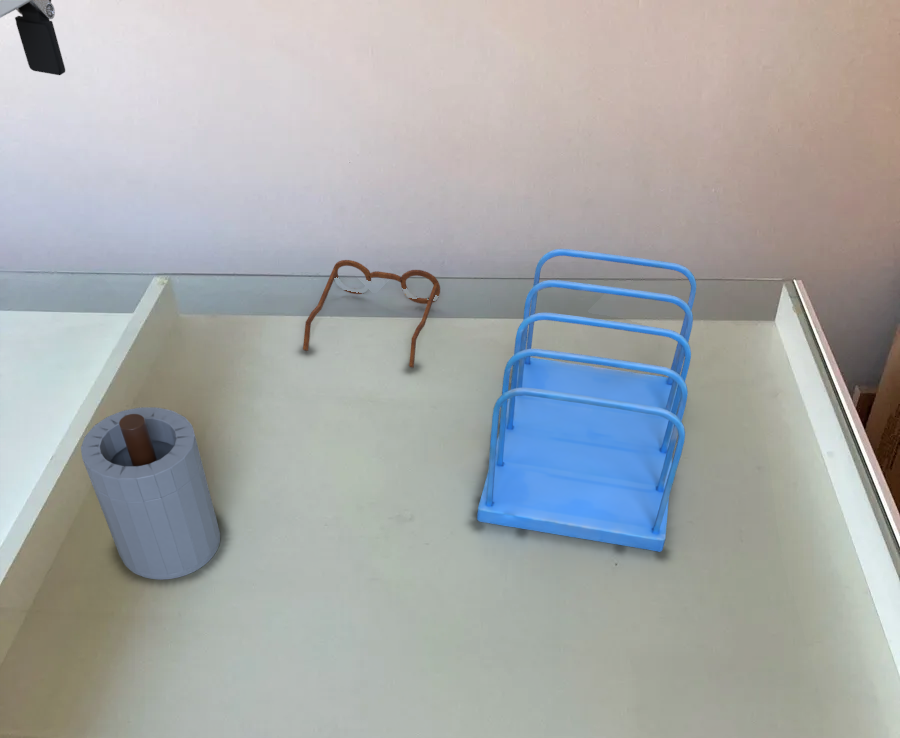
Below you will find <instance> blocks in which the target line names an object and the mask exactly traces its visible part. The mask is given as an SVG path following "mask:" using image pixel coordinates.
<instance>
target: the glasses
mask: <svg viewBox="0 0 900 738" xmlns="http://www.w3.org/2000/svg"><path fill="white" fill-rule="evenodd" d="M342 267H352V268H356V269H358V270H359V271H360V272H361V273H363V275H364V277H365V281H366V280H368V281H371V282H372V278H379V279H384V280H385V279H386V280H391V281H396V282H399V283H400V287H401V289H402V288H403V289H406V288H407V289H408V285H407V280H408V279H409V278H411V277H416V276H417V277H423V278H425V279H427V280H429V282H431V283H432V285H433V286H432V290H431V292H430V294H429V297H425V298H424V297H419V298H417V299H412V298H408V300H409V301H411V302H414V303H416V304H421V305H426V306H425V308H424V312H423V315H422V317H421V321H420V322H419V324H417V326H416V328H415V330H414V332H413V334H412V336H411V342H410V353H409V363H408V366H409V368H410V369H412V368H413V369H414V367H415V358H416V347H417V340H418V337H419V336H420V333H421V332H422V330H423V329H424V327H425V325H426V322H427V320H428V316H429V314H430V311H431V308H432V305H433V303H435V302H436V301H433V299H434V297H435V295H437V296H439V297H440V293H441V285H440V281H438V279H437V277H436V276H435V275H433V274H432V273H430V272H428V271H426V270H421V269H411V270H408V271H405V272H404V273H403V274H401V276H400V275H398V274H396V273H394V272H393V273H392V272H386V271H379V270H378V271H372V272H371V271H370V270H369V269H368V268H367V267H366V266H365V265H364V264H362V263H360V262H358V261H355V260H351V259H341V260H338V261H337V262H336V263H335V264H334V266H333V268H332V270H331V273H330V275H329V277H328V280H327V282H326V284H325V287H324V289H323V291H322V293H321V296H320V297H319V298H320V299H319V301H318V303H317V305H315V307H314V308H313V310H311V312H310V313H309V315H308V317H307V319H306V320H305V326H304V333H303V334H304V336H303V344H302V350H303V351H305V352H309V346H310V337H311V327H312V323H313V321H314V320H315V318H316V316H317V315H318V314H319V313H320V312H321V311H322V309H323V308H324V305H325V302H326V300H327V298H328V295H329V292H330V290H331V287H332V285H333V283H334V282H335V281H334V278H336V277H337V278H338V277H339V269H340V268H342ZM339 278H340V277H339ZM343 291H344V292H346V293H349V294H353V295H362V293H359V292H358V293H356V292H351V291H347V290H343ZM427 298H429V300H427Z"/></svg>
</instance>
